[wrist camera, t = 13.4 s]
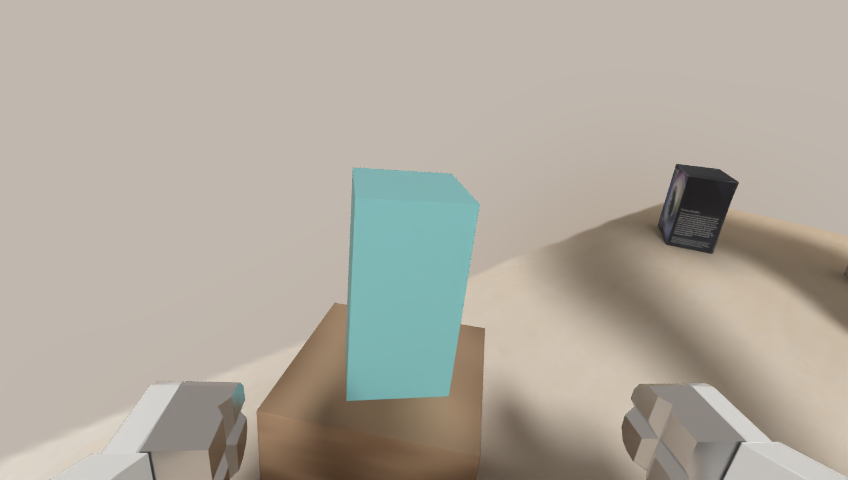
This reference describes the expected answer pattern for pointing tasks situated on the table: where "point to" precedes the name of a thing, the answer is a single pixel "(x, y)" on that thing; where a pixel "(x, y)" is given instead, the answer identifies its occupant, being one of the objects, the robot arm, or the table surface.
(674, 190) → the small box
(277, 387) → the walnut base
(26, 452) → the table surface
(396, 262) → the teal pillar
